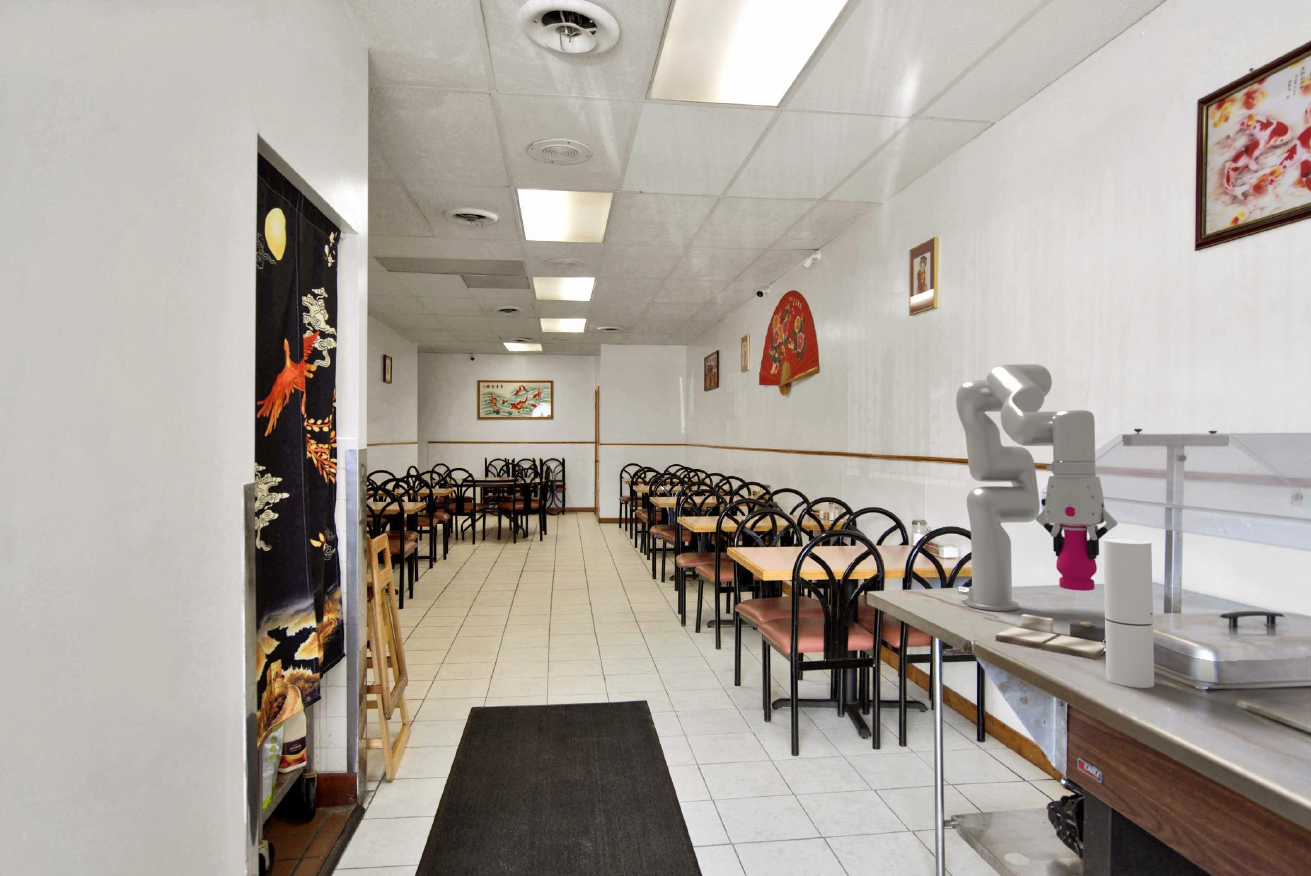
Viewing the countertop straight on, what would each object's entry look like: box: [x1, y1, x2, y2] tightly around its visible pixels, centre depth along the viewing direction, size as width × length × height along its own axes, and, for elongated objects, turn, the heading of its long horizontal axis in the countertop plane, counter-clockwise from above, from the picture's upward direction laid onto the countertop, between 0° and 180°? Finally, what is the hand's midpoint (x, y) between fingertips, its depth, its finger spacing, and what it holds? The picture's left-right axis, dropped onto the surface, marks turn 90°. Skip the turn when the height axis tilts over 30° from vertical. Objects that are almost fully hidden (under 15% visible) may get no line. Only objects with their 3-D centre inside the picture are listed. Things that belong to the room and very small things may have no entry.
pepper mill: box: [1055, 507, 1098, 592], centre depth 145 cm, size 7×7×20 cm
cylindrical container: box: [1102, 538, 1155, 689], centre depth 125 cm, size 7×7×25 cm
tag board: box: [995, 613, 1105, 660], centre depth 149 cm, size 19×12×4 cm, turn 42°
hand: (1075, 556), depth 145 cm, fingers closed on pepper mill, 5 cm apart
